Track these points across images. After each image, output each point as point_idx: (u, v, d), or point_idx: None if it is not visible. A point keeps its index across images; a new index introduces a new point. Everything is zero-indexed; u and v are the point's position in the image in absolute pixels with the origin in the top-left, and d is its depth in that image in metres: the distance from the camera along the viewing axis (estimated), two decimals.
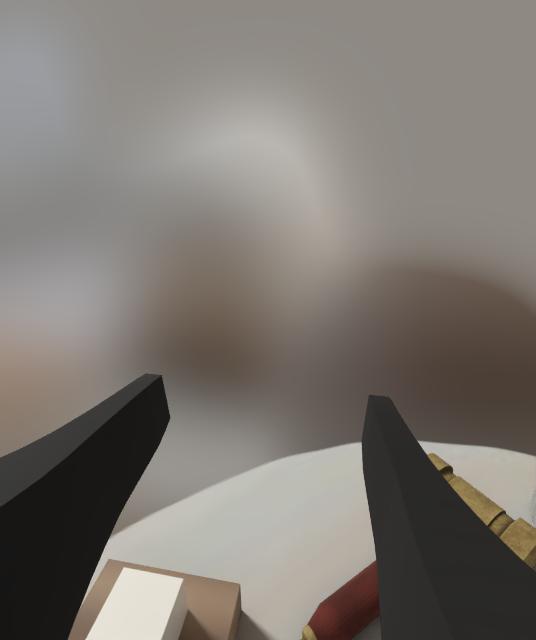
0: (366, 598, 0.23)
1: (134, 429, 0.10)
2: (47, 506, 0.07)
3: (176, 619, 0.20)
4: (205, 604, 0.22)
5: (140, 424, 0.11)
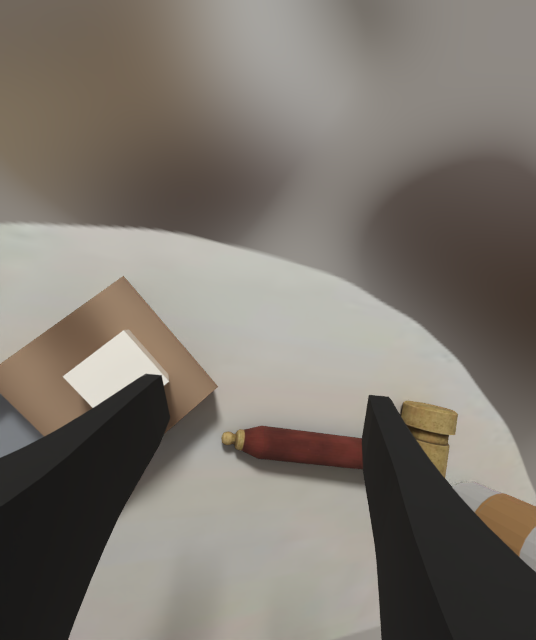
0: (294, 456, 0.27)
1: (133, 429, 0.10)
2: (47, 505, 0.07)
3: None
4: (182, 381, 0.24)
5: (140, 424, 0.11)
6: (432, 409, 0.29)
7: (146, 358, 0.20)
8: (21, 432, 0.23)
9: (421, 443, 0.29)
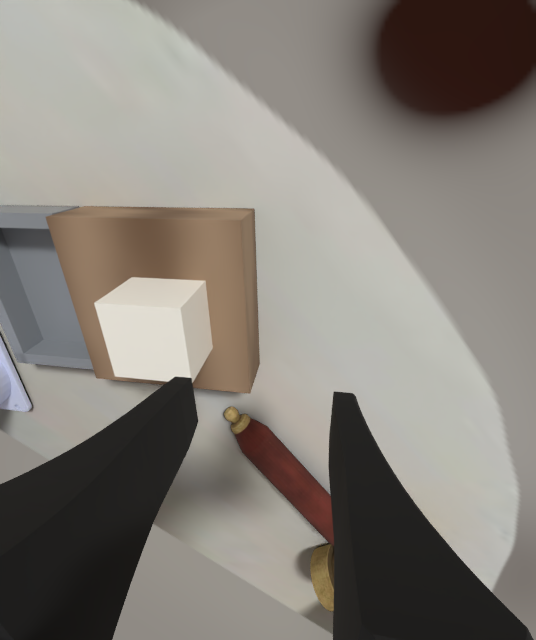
0: (269, 478, 0.25)
1: (167, 433, 0.10)
2: (93, 513, 0.07)
3: None
4: (221, 364, 0.19)
5: (173, 428, 0.10)
6: None
7: (184, 350, 0.15)
8: None
9: None
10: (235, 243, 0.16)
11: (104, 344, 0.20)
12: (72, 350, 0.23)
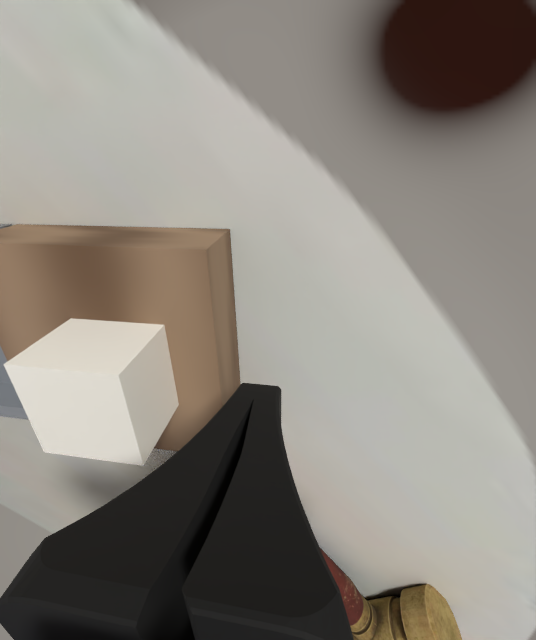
0: None
1: None
2: (202, 532, 0.07)
3: None
4: (190, 423, 0.15)
5: None
6: None
7: (129, 426, 0.11)
8: None
9: None
10: (200, 279, 0.12)
11: None
12: (15, 396, 0.19)
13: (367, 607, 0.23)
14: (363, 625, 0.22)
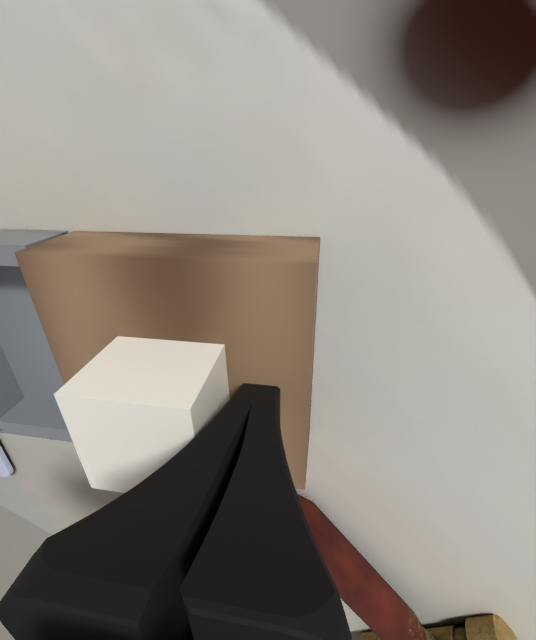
0: None
1: None
2: (204, 532, 0.07)
3: None
4: None
5: None
6: None
7: None
8: None
9: None
10: (304, 296, 0.10)
11: None
12: (61, 416, 0.17)
13: (430, 639, 0.21)
14: None
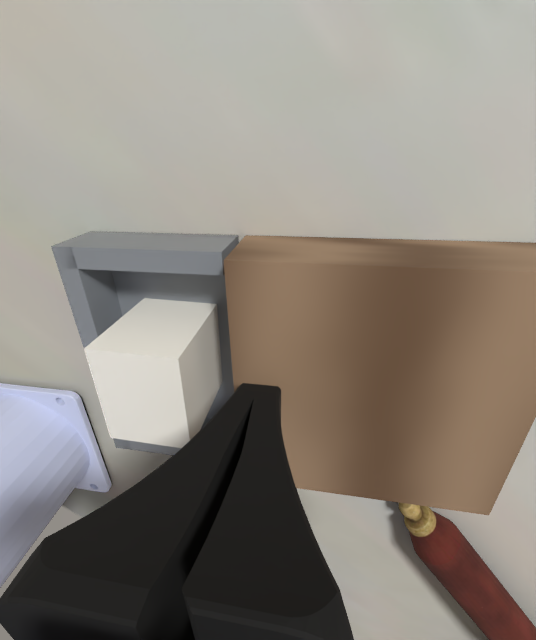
0: (457, 595, 0.18)
1: None
2: (202, 532, 0.07)
3: None
4: (457, 476, 0.13)
5: None
6: None
7: (100, 397, 0.12)
8: None
9: None
10: None
11: None
12: None
13: None
14: None
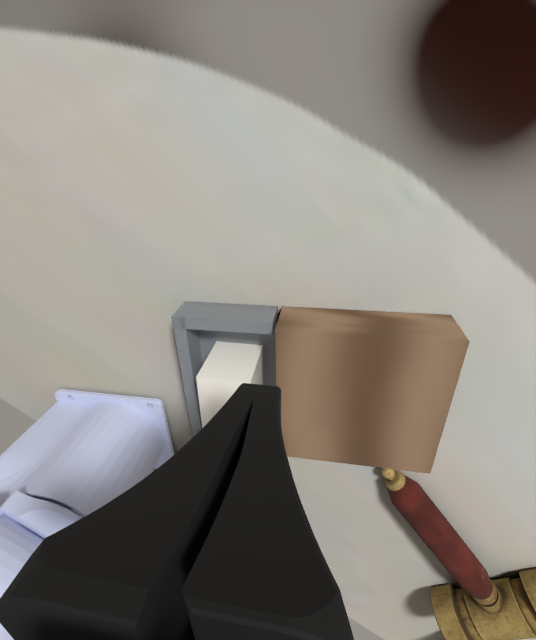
0: (420, 531, 0.26)
1: None
2: (202, 532, 0.07)
3: None
4: (409, 449, 0.21)
5: None
6: None
7: (199, 403, 0.21)
8: None
9: (520, 615, 0.27)
10: (457, 358, 0.18)
11: (296, 429, 0.22)
12: None
13: (494, 585, 0.29)
14: (493, 599, 0.28)
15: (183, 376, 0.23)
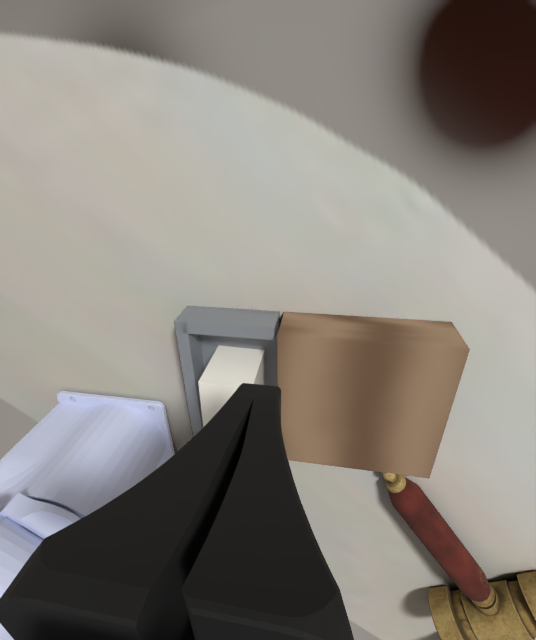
0: (420, 533, 0.26)
1: None
2: (202, 532, 0.07)
3: None
4: (408, 454, 0.21)
5: None
6: None
7: (201, 407, 0.21)
8: None
9: (517, 617, 0.28)
10: (457, 365, 0.18)
11: (296, 433, 0.22)
12: None
13: (491, 588, 0.29)
14: (491, 601, 0.28)
15: (185, 380, 0.23)
